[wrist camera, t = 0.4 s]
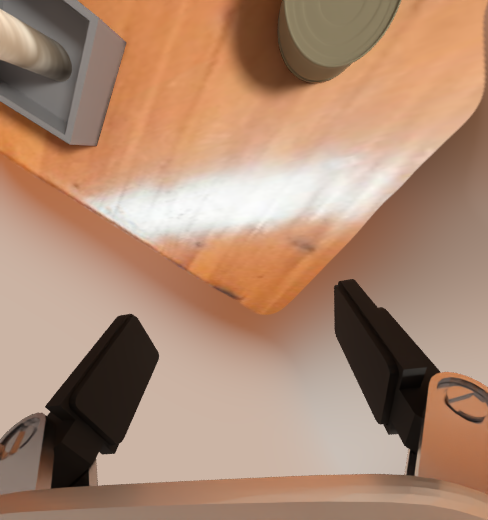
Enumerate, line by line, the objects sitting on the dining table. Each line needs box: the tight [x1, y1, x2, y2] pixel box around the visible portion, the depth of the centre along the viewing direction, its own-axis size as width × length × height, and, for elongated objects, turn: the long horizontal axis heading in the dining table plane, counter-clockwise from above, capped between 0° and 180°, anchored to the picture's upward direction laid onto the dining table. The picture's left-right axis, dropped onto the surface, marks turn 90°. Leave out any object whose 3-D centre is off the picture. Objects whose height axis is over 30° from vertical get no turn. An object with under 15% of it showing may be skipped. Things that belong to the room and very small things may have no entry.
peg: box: [0, 9, 72, 82], centre depth 23 cm, size 4×4×11 cm
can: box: [278, 0, 401, 83], centre depth 23 cm, size 12×12×7 cm
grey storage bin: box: [0, 0, 126, 146], centre depth 26 cm, size 15×15×6 cm
